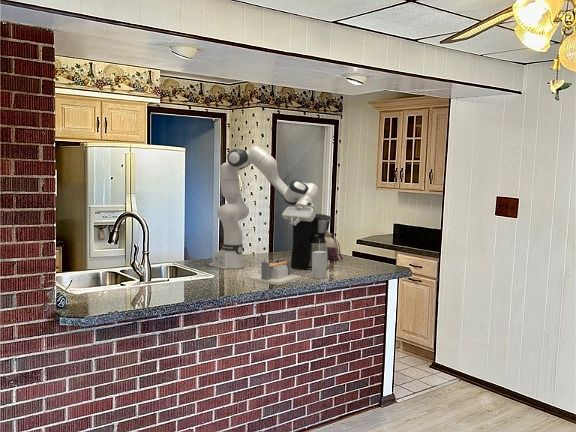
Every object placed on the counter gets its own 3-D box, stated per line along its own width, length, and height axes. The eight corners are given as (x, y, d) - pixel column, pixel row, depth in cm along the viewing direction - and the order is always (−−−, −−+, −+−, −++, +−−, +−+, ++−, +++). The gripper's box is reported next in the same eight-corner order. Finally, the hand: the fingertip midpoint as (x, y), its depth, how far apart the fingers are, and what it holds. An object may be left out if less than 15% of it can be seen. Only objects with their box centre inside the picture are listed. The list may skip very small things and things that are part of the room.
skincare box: (320, 279, 303) (321, 252, 301) (310, 278, 306) (311, 251, 304) (327, 277, 310) (328, 251, 309) (317, 275, 313) (318, 250, 312)
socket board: (248, 279, 296) (249, 260, 295) (273, 274, 314) (273, 255, 313) (278, 285, 285) (278, 264, 284) (301, 278, 302) (302, 259, 302)
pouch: (309, 258, 374) (309, 230, 372) (315, 256, 381) (315, 229, 379) (341, 262, 361) (342, 233, 359) (347, 260, 367) (348, 232, 366)
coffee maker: (332, 271, 328) (334, 215, 325) (279, 271, 324) (280, 214, 321) (324, 264, 350) (326, 212, 347) (275, 264, 346) (276, 211, 343)
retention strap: (284, 262, 307) (284, 261, 307) (288, 263, 306) (288, 262, 306) (264, 266, 293) (264, 265, 293) (269, 267, 291) (269, 266, 291)
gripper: (286, 201, 320) (276, 219, 313) (315, 204, 308) (305, 222, 301) (290, 209, 324) (280, 226, 317) (319, 211, 312) (309, 229, 305)
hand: (292, 224), depth 309 cm, fingers closed
